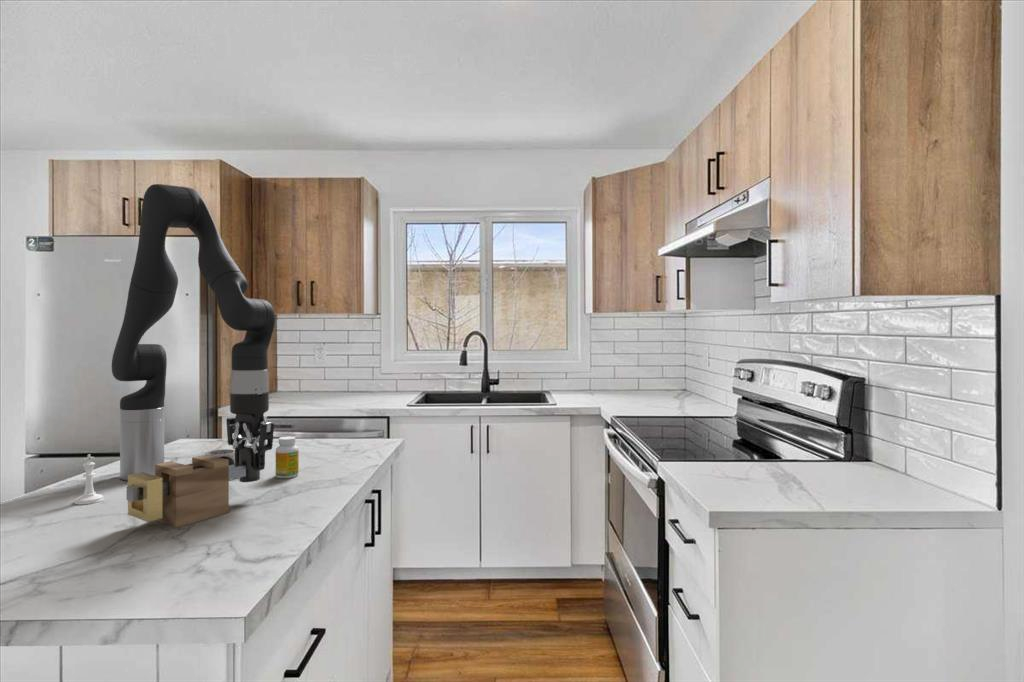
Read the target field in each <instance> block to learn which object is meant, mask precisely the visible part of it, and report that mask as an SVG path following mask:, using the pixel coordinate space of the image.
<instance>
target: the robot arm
mask: <svg viewBox="0 0 1024 682" xmlns="http://www.w3.org/2000/svg"><path fill="white" fill-rule="evenodd" d="M141 203H142V204H141V212H140V214H141V215H140V223H139V224H140V225H139V234H138V243H137V251H136V256H135V260H134V265H133V271H132V273H131V279H130V282H129V288H128V293H127V300H126V305H125V311H124V315H123V316H124V317H123V320H122V324H121V327H120V330H119V333H118V337H117V340H116V344H115V347H114V351H113V354H112V358H111V373H112V376H113V378H114V379H115V380H117V381H120V382H139V381H140V382H141V381H145V385H143V387H141V388H140V389H138V390H136V391H135V392H133V393H129V394H127V395H124V396H123V397H120V401H119V459H120V460H119V478H120V479H121V480H122V481H123V480H124V481H128V475H130V474H135V473H141V472H144V473H148V474H151V475H154V476H155V464H159V463H165V399H166V382H167V381H166V378H167V365H168V364H167V363H168V361H167V359H168V358H167V352H166V350H165V348H164V347H163V345H161V344H158V343H140V341H141V339H142V338H143V336H144V335H145V334H146V332H147V331H148V330H150V328H151V327H153V326H154V325H155V324H156V323H157V322H158V321H160V320H161V319H162V318H163V317H164V316H165V315H166V314H168V312H169V311H170V310H171V308H172V307H173V305H174V302H175V299H176V298H175V297H176V294H177V289H178V285H179V278H178V274H177V271H176V269H175V268H174V265H173V263H172V262H171V259H170V258H169V256H168V253H167V250H166V237H167V233H168V229H169V228H172V229H173V228H177V229H189V230H190V231H191V232H192V233H193V234H194V236H196V238H197V240H198V244H199V246H198V254H197V255H198V256H197V257H198V258H197V262H198V268H199V271H200V273H201V274H202V276H203V278H204V280H205V281H206V283H207V284H208V286H209V288H211V290H212V291H213V293H214V294H215V295H214V296H215V300H216V303H217V306H218V309H219V313H220V316H221V318H222V320H223V321H224V322H225V324H226V325H227V326H228V327H230V328H231V329H232V330H235V331H239V332H241V331H242V332H245V331H246V332H245V336H244V338H243V340H242V341H240V342H237V343H234V344H233V346H232V348H231V371H230V372H231V373H230V379H229V380H230V381H229V406H230V407H229V410H230V413H231V414H233V415H235V416H234V417H233V416H232V417H227V418H226V433H227V434H226V435H227V437H226V438H227V445H228V446H232V450H235V464H239V448H240V447H244V446H247V443H248V444H250V446H252V448H253V451H254V453H253V470H255V471H259V470H260V471H262V470H264V469H265V467H266V452H268V451H270V450H271V451H272V449H273V444H274V442H273V441H274V429H275V424H274V422H273V421H271V422H267V421H266V420H265V416H264V414H265V413H267V412H268V411H269V410H270V409H269V407H270V401H269V400H270V399H269V398H270V393H269V391H270V390H269V389H270V388H269V387H270V386H269V385H270V383H269V380H270V379H269V373H268V361H269V360H268V359H269V358H268V349H269V346H270V343H271V339H272V337H273V332H274V329H275V325H276V324H275V323H276V313H275V309H274V307H273V305H272V304H271V303H270V302H269V301H268V300H266V299H263V298H262V299H260V298H250V297H247V296H245V295H244V294H246V292H247V291H248V288H249V283H248V281H247V279H246V277H245V275H244V274H243V272H242V270H241V269H240V268H239V266H238V265H237V263H236V262H235V261H234V259H233V257H232V256H231V254H230V253H229V251H228V249H227V248H226V246H225V243H224V241H223V239H222V237H221V234H220V232H219V230H218V228H217V225H216V222H215V221H214V219H213V216H212V214H211V212H210V210H209V207H208V205H207V203H206V202H205V200H204V198H203V197H202V195H201V194H200V193H199V191H198V190H196V189H194V188H191V187H187V186H177V185H172V184H171V185H170V184H158V183H156V184H155V183H154V184H151V185H150V186H148V187H147V188H146V190H145V192H144V195H143V199H142V202H141ZM266 441H267V442H266ZM258 446H259V447H258Z"/></svg>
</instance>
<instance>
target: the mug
mask: <svg viewBox="0 0 1024 682" xmlns="http://www.w3.org/2000/svg"><path fill="white" fill-rule="evenodd" d="M204 455H210V456H215V457H219V458H223V459H228V460H229V465H234V464H235V449H233V448H232V449H229V448H228V449H227V448H226V449H225V448H224V449H223V448H222V449H213V450H210V451H206V452H205V453H204ZM232 480H233V479H231V480H230V481H232Z"/></svg>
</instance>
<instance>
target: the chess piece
mask: <svg viewBox="0 0 1024 682" xmlns="http://www.w3.org/2000/svg"><path fill="white" fill-rule="evenodd" d="M83 460H84V461H87V462H84V463H83V464H82V466H83V468H84V471H85V473H84V474H82V477H84V478H85V479H86V480H85V485H84V493H82V495H81V496H78V497H76V498H75V499H74V504H75V505H81V506H83V505H90V504H96V503H99V502H102V501H103V500H104V499H105V498H104V496H103V494H99V493H97V492H96V491H95V489H94V482H93V477H94V476H96V473H95V472H93V470H94V468H95V465H96V463H95V462H93V461H91V460H95V456H91V453H90V454H87V457H84V458H83Z"/></svg>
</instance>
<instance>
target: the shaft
mask: <svg viewBox="0 0 1024 682" xmlns="http://www.w3.org/2000/svg"><path fill="white" fill-rule="evenodd" d="M258 447H259V445H258ZM253 453H254V451H253V448H252V445H246V446H244V447H240V448H239V464H234V465H229V481H232V480H235V479H238V481H239V482H241V483H252V482H257V481H259V480H260V479H261V470H259V471H255V470H253ZM231 479H232V480H231ZM166 494H169V478H166V479H162V495H166ZM128 500H129V501H131V502H135V501H140V500H143V488H142V487H139V486H136V485H132V486H128V485H126V501H128Z"/></svg>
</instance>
